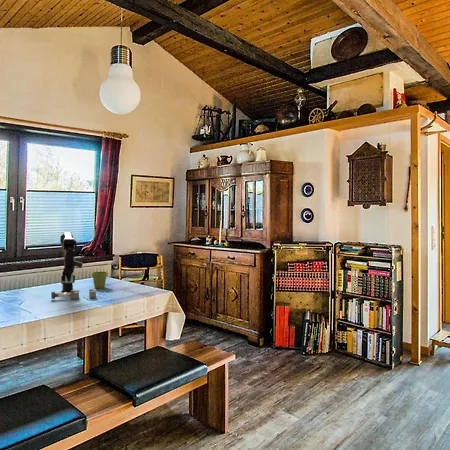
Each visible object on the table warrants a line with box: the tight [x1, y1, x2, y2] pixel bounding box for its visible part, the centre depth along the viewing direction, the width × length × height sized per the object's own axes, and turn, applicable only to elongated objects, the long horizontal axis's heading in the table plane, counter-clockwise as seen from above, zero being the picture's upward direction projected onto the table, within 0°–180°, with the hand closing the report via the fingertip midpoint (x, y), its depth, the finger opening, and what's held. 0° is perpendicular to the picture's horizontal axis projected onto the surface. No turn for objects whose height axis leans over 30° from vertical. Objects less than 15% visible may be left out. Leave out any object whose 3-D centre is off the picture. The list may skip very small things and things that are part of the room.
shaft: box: [50, 291, 71, 300], centre depth 252 cm, size 16×4×4 cm, turn 111°
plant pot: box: [91, 271, 109, 289], centre depth 289 cm, size 12×12×11 cm
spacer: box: [65, 272, 74, 284], centre depth 257 cm, size 4×6×6 cm
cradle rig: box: [70, 288, 97, 301], centre depth 256 cm, size 16×8×5 cm, turn 111°
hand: (69, 280), depth 257 cm, fingers closed on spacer, 6 cm apart
